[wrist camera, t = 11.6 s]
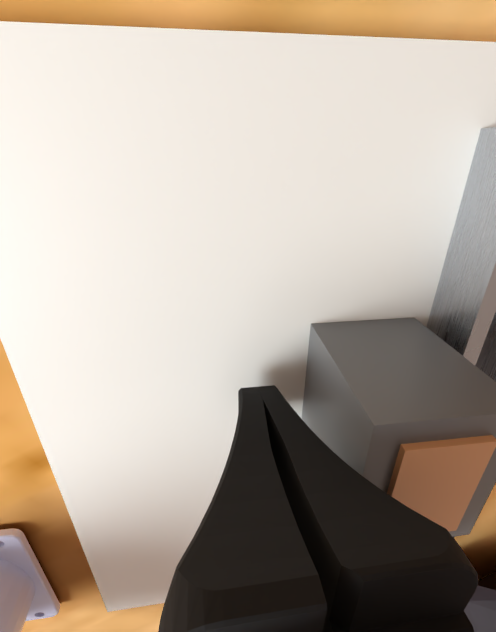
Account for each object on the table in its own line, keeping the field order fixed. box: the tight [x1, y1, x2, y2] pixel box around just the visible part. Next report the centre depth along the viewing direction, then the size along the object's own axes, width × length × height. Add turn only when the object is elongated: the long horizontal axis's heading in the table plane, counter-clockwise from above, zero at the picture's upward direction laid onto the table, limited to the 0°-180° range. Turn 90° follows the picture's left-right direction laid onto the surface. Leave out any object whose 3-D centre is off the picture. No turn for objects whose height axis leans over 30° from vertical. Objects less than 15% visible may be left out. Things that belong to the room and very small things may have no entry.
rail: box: [427, 127, 496, 538], centre depth 14 cm, size 3×22×2 cm, turn 0°
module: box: [302, 317, 496, 537], centre depth 11 cm, size 4×5×5 cm
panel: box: [0, 21, 496, 612], centre depth 14 cm, size 18×26×1 cm
